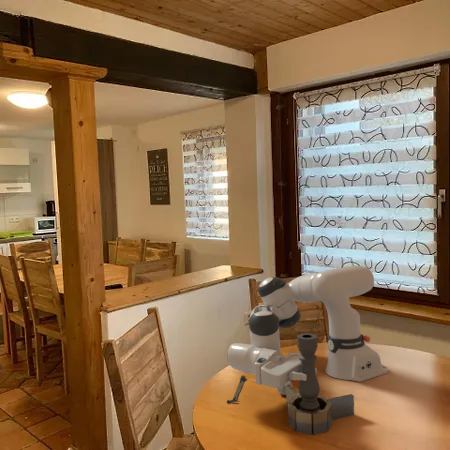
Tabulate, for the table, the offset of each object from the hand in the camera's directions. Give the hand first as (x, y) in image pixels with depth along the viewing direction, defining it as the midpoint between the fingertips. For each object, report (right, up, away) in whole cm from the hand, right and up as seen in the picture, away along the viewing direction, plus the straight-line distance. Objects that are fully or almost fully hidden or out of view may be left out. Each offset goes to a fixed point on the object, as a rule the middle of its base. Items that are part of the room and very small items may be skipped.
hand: (311, 374), depth 135 cm
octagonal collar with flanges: (+3, -14, +7) cm, 16 cm away
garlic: (-5, -14, +22) cm, 27 cm away
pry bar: (-19, -14, +26) cm, 36 cm away
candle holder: (0, -14, +1) cm, 14 cm away
